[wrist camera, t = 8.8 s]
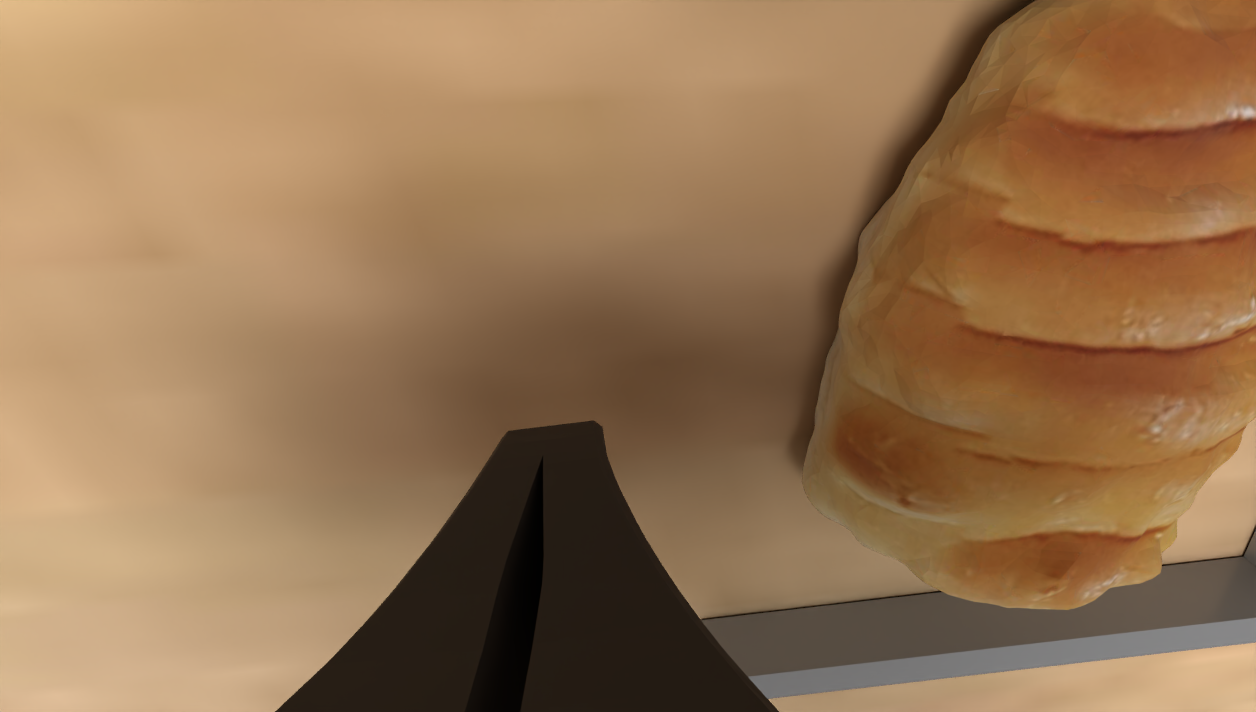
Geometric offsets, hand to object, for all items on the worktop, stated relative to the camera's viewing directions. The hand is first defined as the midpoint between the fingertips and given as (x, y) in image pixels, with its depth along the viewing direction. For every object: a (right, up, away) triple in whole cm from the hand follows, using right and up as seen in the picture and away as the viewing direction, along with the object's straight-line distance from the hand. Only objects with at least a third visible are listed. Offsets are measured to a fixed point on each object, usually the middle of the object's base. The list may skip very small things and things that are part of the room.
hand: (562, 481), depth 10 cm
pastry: (+7, +3, +2) cm, 8 cm away
